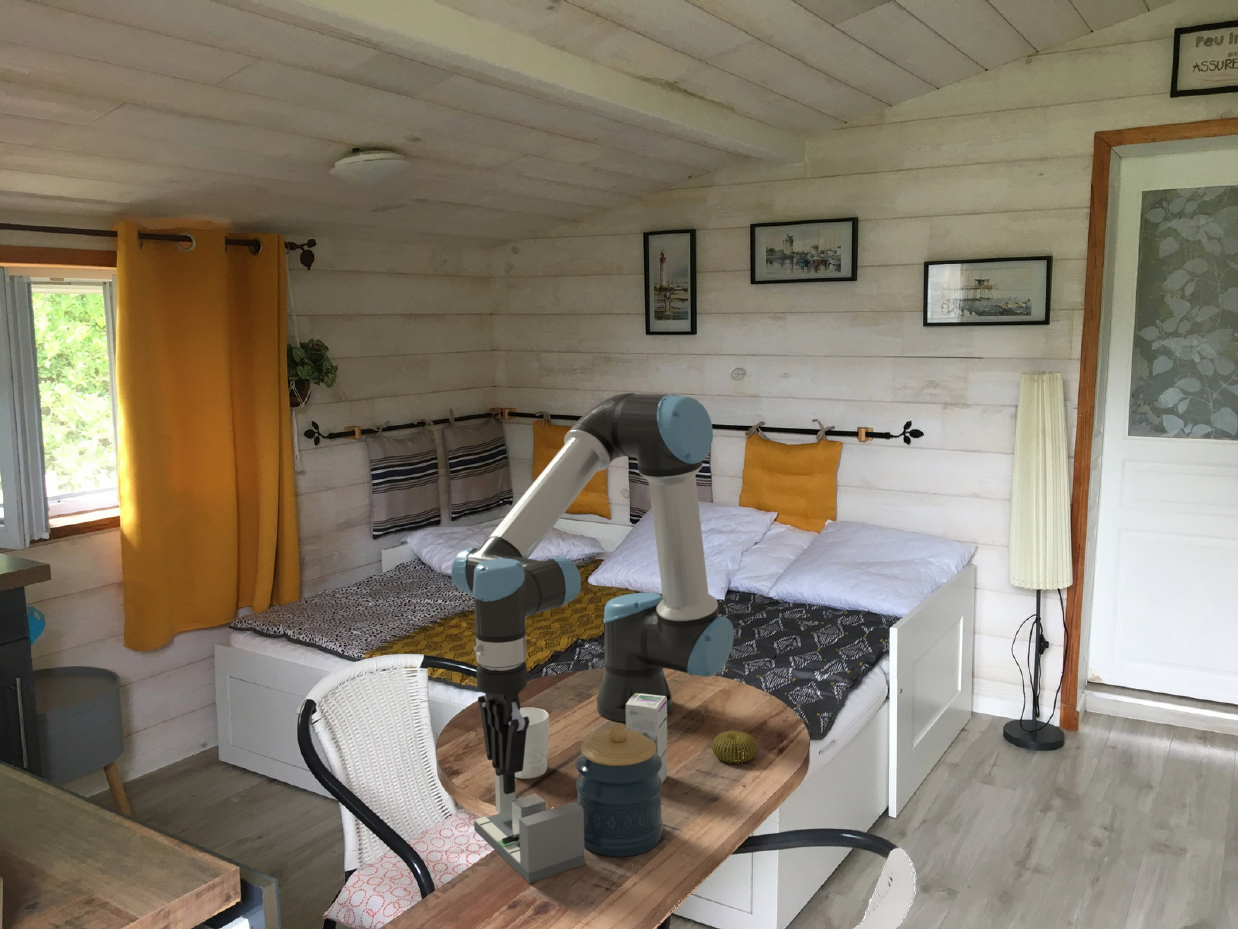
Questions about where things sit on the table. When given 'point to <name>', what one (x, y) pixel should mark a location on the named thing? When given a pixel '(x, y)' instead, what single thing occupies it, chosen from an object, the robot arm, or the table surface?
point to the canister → (620, 792)
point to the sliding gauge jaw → (523, 813)
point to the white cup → (535, 743)
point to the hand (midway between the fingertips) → (506, 809)
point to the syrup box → (650, 722)
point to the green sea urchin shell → (734, 746)
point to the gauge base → (538, 840)
